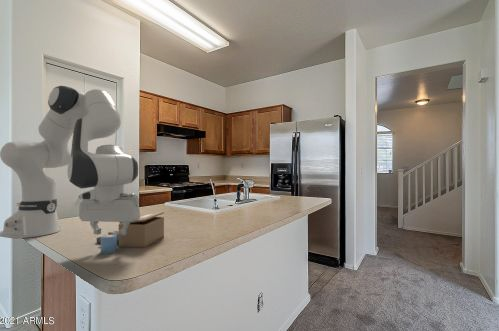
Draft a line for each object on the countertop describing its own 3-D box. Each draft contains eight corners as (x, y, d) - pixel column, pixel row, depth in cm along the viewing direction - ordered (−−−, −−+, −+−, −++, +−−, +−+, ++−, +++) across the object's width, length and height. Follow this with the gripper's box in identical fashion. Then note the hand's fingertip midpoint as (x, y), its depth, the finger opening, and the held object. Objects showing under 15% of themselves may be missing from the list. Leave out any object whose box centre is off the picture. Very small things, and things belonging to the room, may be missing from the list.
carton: (118, 246, 89) (118, 224, 89) (141, 235, 103) (141, 216, 103) (144, 247, 88) (144, 224, 88) (163, 236, 102) (163, 216, 102)
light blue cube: (97, 253, 82) (97, 237, 82) (107, 248, 87) (107, 234, 87) (110, 254, 82) (110, 238, 82) (120, 249, 86) (120, 234, 86)
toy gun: (135, 224, 117) (161, 224, 111) (136, 231, 117) (161, 231, 111) (82, 237, 94) (110, 238, 88) (82, 246, 94) (111, 247, 88)
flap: (119, 223, 89) (119, 221, 89) (142, 215, 103) (142, 213, 103) (144, 221, 88) (144, 219, 88) (164, 213, 102) (163, 211, 102)
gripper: (143, 192, 86) (144, 232, 86) (90, 192, 89) (90, 231, 89) (132, 194, 80) (133, 237, 80) (75, 194, 83) (75, 236, 83)
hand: (110, 234), depth 84 cm, fingers open, 8 cm apart
